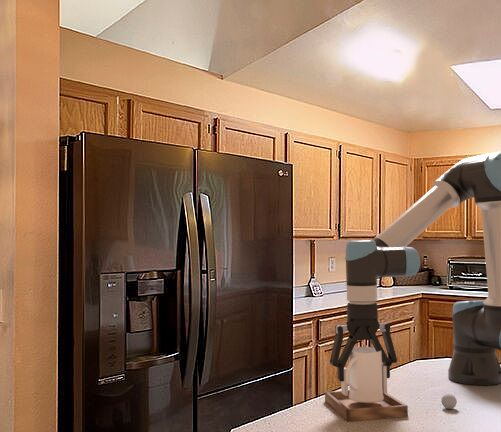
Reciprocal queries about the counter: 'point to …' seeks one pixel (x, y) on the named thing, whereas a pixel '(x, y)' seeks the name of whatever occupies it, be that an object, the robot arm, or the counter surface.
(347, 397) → the tray
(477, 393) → the counter surface
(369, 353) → the mug
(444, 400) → the ball
